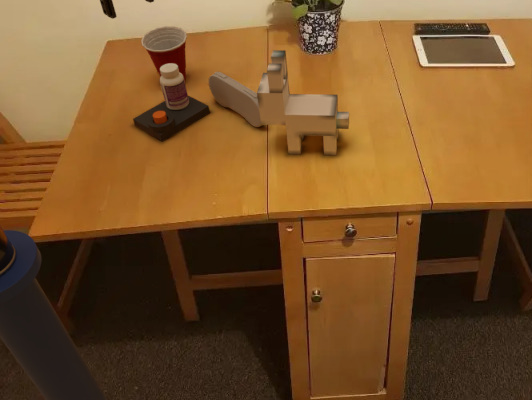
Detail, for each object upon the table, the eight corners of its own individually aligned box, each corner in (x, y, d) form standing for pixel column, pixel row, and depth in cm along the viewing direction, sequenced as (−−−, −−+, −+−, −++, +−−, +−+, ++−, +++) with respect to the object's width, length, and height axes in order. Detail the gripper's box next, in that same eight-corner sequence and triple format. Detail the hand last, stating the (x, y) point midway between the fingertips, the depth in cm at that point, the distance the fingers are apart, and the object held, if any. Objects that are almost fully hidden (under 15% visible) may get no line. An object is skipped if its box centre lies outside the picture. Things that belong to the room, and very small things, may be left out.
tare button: (159, 126, 126) (157, 119, 125) (151, 121, 128) (149, 114, 126) (169, 120, 128) (168, 113, 127) (162, 115, 129) (160, 109, 128)
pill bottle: (194, 102, 135) (186, 65, 128) (178, 113, 132) (169, 76, 125) (177, 95, 137) (168, 59, 131) (161, 106, 134) (151, 69, 127)
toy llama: (348, 155, 121) (346, 70, 107) (265, 153, 123) (253, 70, 109) (350, 133, 126) (349, 50, 113) (270, 132, 128) (260, 50, 115)
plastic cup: (150, 94, 142) (137, 49, 134) (155, 71, 150) (143, 28, 141) (194, 90, 142) (184, 45, 134) (197, 67, 150) (188, 24, 142)
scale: (161, 143, 127) (158, 130, 125) (133, 126, 132) (129, 113, 130) (211, 113, 135) (208, 100, 132) (182, 98, 140) (179, 85, 137)
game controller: (271, 128, 129) (267, 96, 124) (263, 133, 128) (259, 101, 122) (219, 95, 140) (213, 65, 134) (211, 99, 139) (205, 69, 133)
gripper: (128, -97, 104) (149, -8, 115) (57, -76, 96) (87, 17, 107) (154, -91, 100) (173, 1, 111) (82, -68, 92) (110, 28, 103)
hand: (131, 9), depth 109 cm, fingers open, 8 cm apart
